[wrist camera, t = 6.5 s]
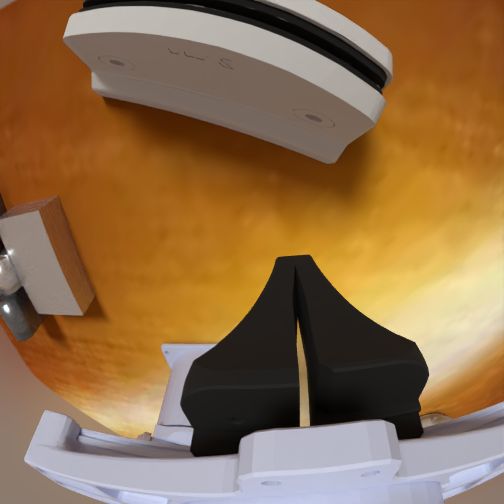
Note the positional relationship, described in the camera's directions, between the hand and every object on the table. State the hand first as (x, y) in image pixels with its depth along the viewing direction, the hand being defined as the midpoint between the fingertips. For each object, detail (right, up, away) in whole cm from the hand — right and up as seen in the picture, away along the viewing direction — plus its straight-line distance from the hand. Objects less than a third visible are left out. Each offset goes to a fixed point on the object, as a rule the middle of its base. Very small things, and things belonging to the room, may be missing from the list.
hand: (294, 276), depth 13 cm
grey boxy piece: (-21, +1, +12) cm, 24 cm away
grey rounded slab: (-3, +12, +4) cm, 13 cm away
